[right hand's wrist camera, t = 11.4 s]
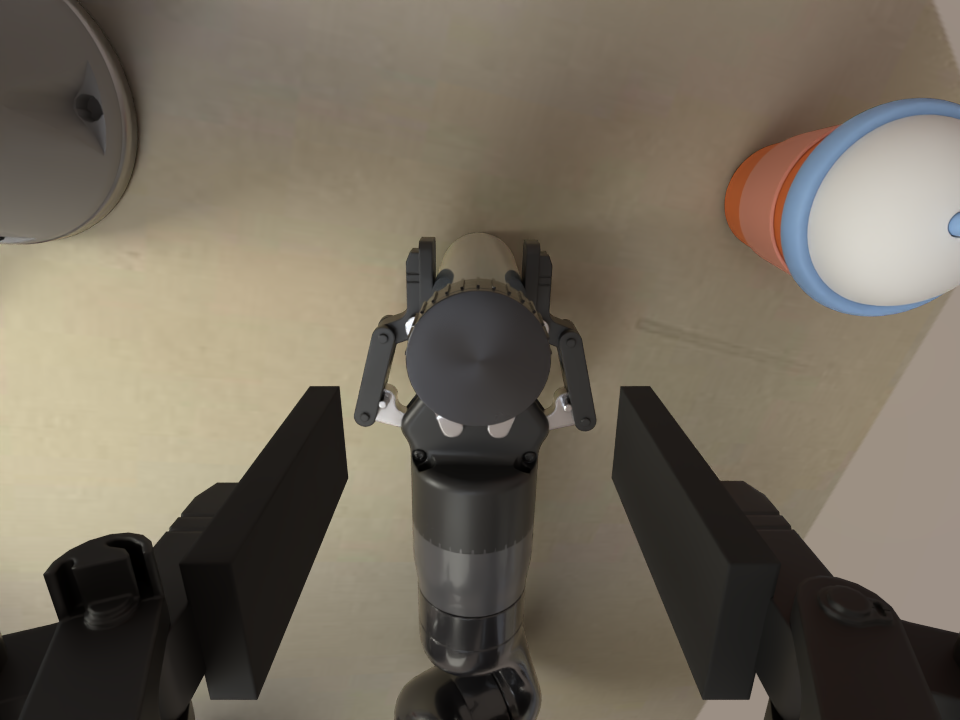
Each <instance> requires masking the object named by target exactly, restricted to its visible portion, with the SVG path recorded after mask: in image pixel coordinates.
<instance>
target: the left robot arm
mask: <svg viewBox="0 0 960 720" xmlns="http://www.w3.org/2000/svg"><path fill="white" fill-rule="evenodd" d="M551 276H552V264H551V260H550V257H549V255H548V254H547V252H546V251H540V243H539V242H538V240H524V244H523V262H522V282H523V285H524V288H525V291H526V294H527V297H528V300H529V301H532V302H533V304H534V307H535V309H536V311H537V313H539V312H540V314H541V316H542V319H543V321H544V324H545V325H544V326H545V327H546V329H547V332H548V335H549V337H550V340H548V341H549V344H551V345H553V346H556V347H557V350H558V356H559V361H560V366H561V371H562V376H563V381H564V386H565V387H561V388H559V389H557V390H556V391H555V393H554V401H553V404H552V405H551V406H550V407H549V408H547V409H544V408H543V407H542V405H541V404H540V402H539V401H538V400H537V399H536V400H535V401H534V402H533V403H532V404H531V405H530V406H529V407H528V408H527V409H526V410H525V411H523V412H522V413H521V414H519V415H517V416H516V417H514V418H512V419H510V420H507V421H505V422H502V423H499V424H495V425H489V426H467V425H462V424H458V423H455V422H452V421H449V420H447V419H445V418H443V417H441V416H439V415H438V414H436V413H435V412H433V411H432V410H431V409H430V408H428V407H427V406H426V405H425V404H424V403H423V401H422V400H421V399H420V398H419V396H418V395H417V394H416V395H415V396H414V398H413V399H412V400H411V401H410V403H409V404H408V405H407V407H406V406H403V405H402V404H401V403H400V402H399V401H398V391H397V389H396V387H395V386H393V385H391V384H388V383H387V381H388V377H389V373H390V369H391V365H392V361H393V357H394V353H395V348H396V344H397V343H400V342H403V341H406V340H407V337H408V334H409V332H410V329H411V327H412V323H413V321H414V318H415V316H416V313H418V314H419V312H420V311H421V308H422V305H423V303H424V301H426V302H427V301H428V300H429V297H430V294H431V291H432V289H433V286H434V283H435V280H436V241H435V237H422V238H421V239H420V241H419V248H413V249H412V250H411V251H410V253H409V256H408V258H407V261H406V281H407V310H406V311H404V312H402V313H400V314H397V315H394V316H393V315H386V316H384V317H383V318H382V319H381V320H380V322H379V324H378V327H377V328H376V329H375V330H374V332H373V334H372V338H371V342H370V347H369V351H368V355H367V360H366V364H365V369H364V373H363V378H362V382H361V387H360V391H359V395H358V400H357V404H356V409H355V413H354V419H355V421H356V422H357V424H359V425H361V426H364V427H367V426H371V425H372V424H373V423H374V422H375V421H378V422H382V423H386V424H390V425H394V426H398V427H401V429H402V432H403V434H404V436H405V437H406V439H407V440H408V442H409V445H410V449H411V477H412V517H413V549H414V559H415V564H416V569H417V575H418V604H419V631H420V638H421V643H422V646H423V649H424V651H425V653H426V655H427V656H428V658H429V659H430V661H431V662H432V663H433V664H434V665H435V666H434V667H432V668H430V669H428V670H426V671H424V672H423V673H421V674H419V675H418V676H416V677H414V678H413V679H412V680H410V681H409V682H408V683H407V684H406V685H405V686H404V687H403V689H402V690H401V692H400V694H399V696H398V698H397V702H396V706H395V713H394V720H536V719H537V717H538V714H539V711H540V707H541V690H540V686H539V682H538V679H537V676H536V673H535V670H534V667H533V663H532V660H531V656H530V651H529V647H528V643H527V639H526V635H525V630H524V626H523V617H524V601H525V585H526V577H527V572H528V568H529V564H530V559H531V552H532V540H533V525H534V510H535V496H536V481H537V466H538V453H539V449H540V446H541V444H542V442H543V441H544V440H545V438H546V437H547V435H548V432H549V430H552V429H556V428H561V427H566V426H571V425H575V426H576V427H577V428H578V429H579V430H581V431H589V430H591V429H593V428H594V427H595V425H596V415H595V409H594V404H593V398H592V393H591V387H590V382H589V376H588V371H587V365H586V360H585V354H584V349H583V343H582V339H581V337H580V335H579V333H578V331H577V329H576V328H575V326H574V324H573V323H572V322H571V321H570V320H567V319H560V318H557V317H554V316H553V315H551V314H550V313H549V306H550V292H551Z"/></svg>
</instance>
